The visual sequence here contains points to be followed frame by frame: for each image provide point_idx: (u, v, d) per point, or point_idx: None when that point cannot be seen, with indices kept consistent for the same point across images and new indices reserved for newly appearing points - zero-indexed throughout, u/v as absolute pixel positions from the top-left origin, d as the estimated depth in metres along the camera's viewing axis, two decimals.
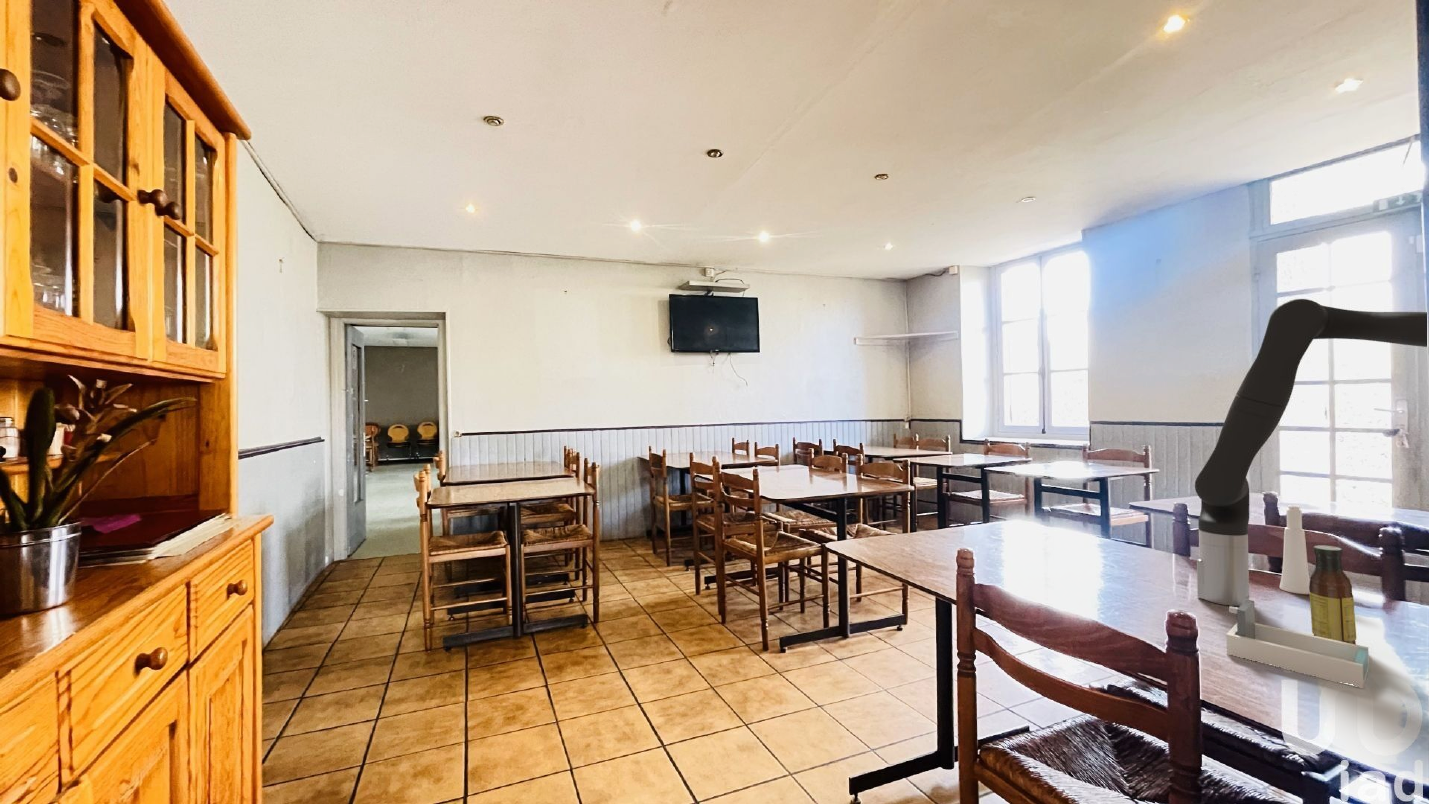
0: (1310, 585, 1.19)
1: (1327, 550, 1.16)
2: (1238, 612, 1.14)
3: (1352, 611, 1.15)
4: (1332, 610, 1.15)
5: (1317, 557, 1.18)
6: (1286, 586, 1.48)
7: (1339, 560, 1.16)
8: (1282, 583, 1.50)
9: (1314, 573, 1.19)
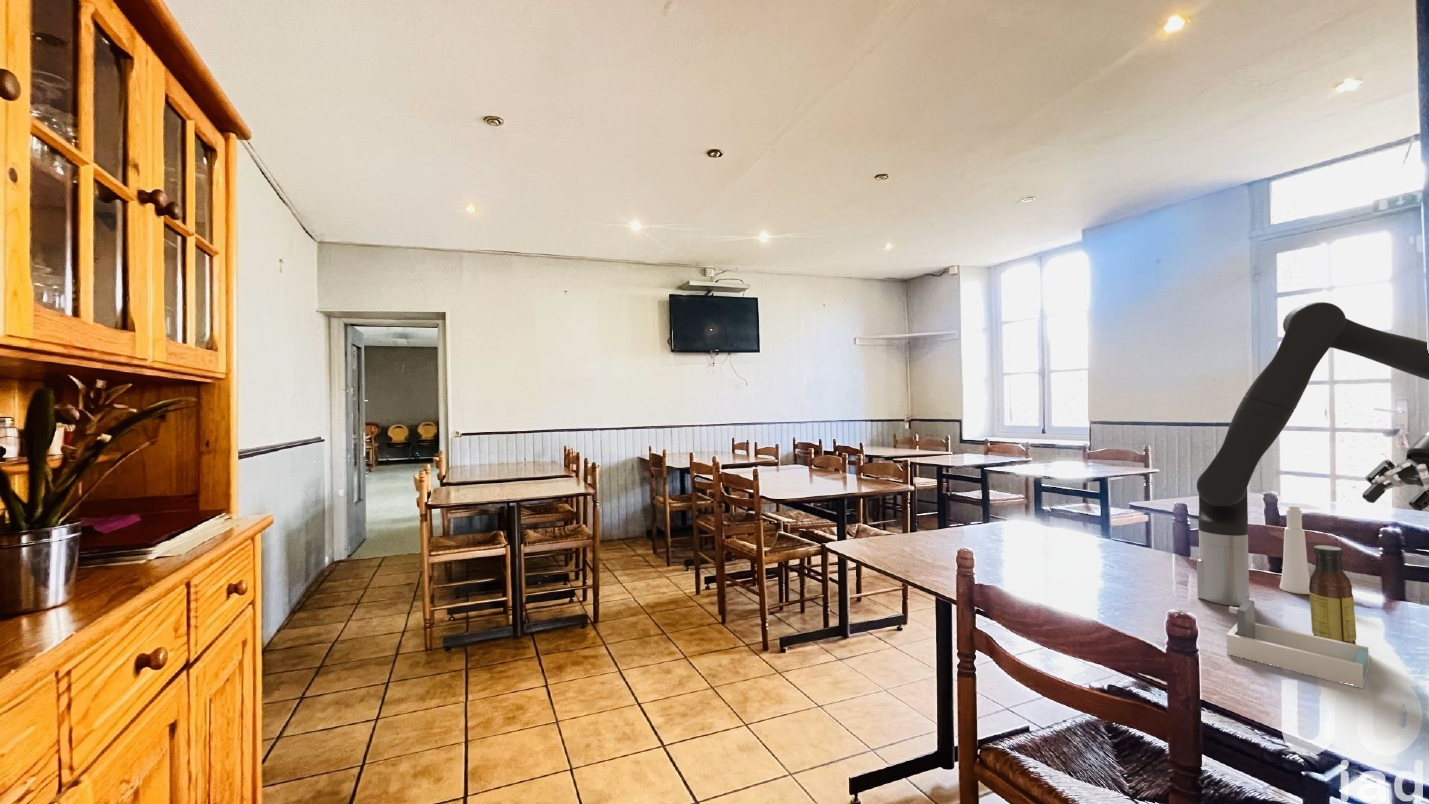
0: (1310, 585, 1.19)
1: (1327, 550, 1.16)
2: (1238, 612, 1.14)
3: (1352, 611, 1.15)
4: (1332, 610, 1.15)
5: (1317, 557, 1.18)
6: (1286, 586, 1.48)
7: (1339, 560, 1.16)
8: (1282, 583, 1.50)
9: (1314, 573, 1.19)
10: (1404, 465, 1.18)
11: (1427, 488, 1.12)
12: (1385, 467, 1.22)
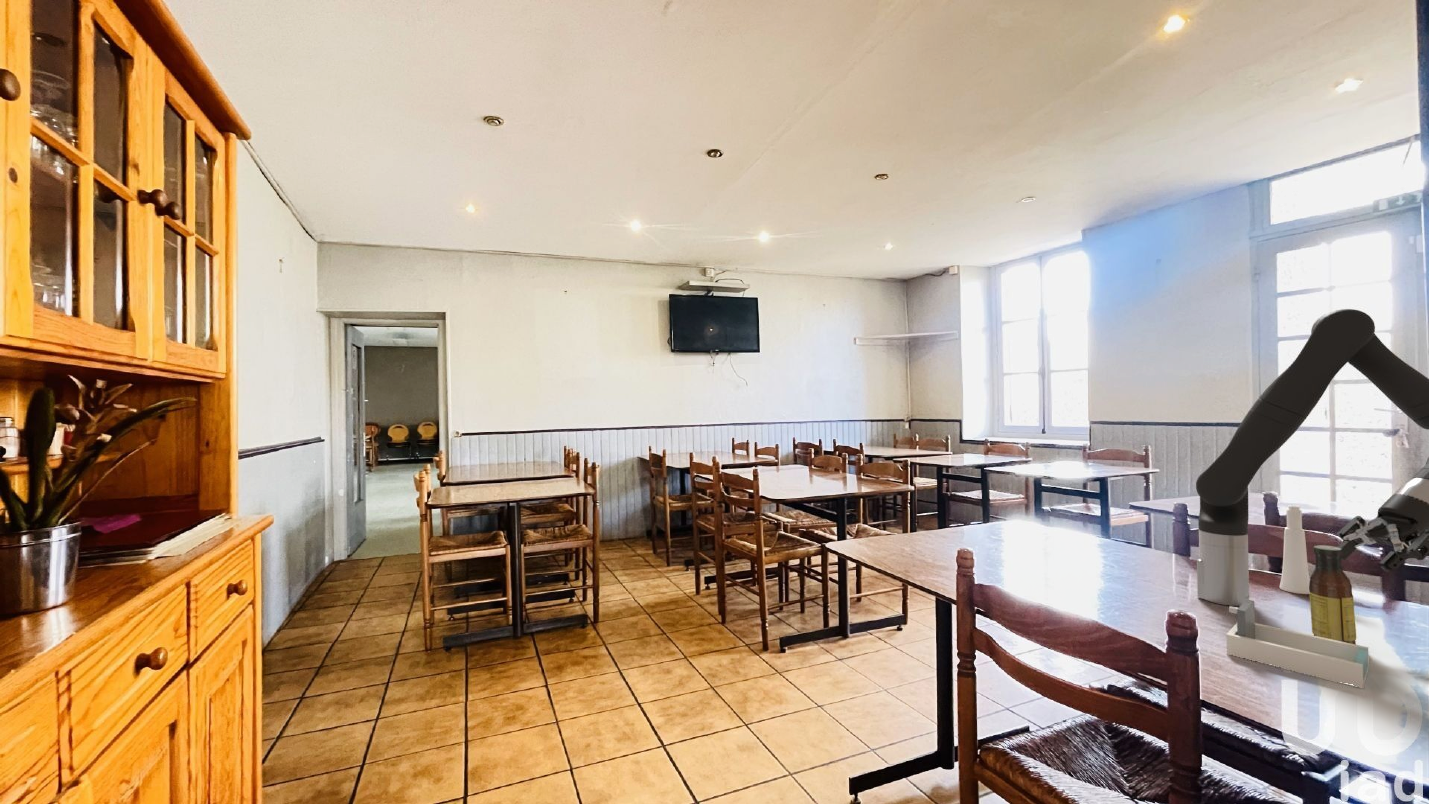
0: (1310, 585, 1.19)
1: (1327, 550, 1.16)
2: (1238, 612, 1.14)
3: (1352, 611, 1.15)
4: (1332, 610, 1.15)
5: (1317, 557, 1.18)
6: (1286, 586, 1.48)
7: (1339, 560, 1.16)
8: (1282, 583, 1.50)
9: (1314, 573, 1.19)
10: (1375, 524, 1.19)
11: (1397, 550, 1.13)
12: (1356, 524, 1.23)
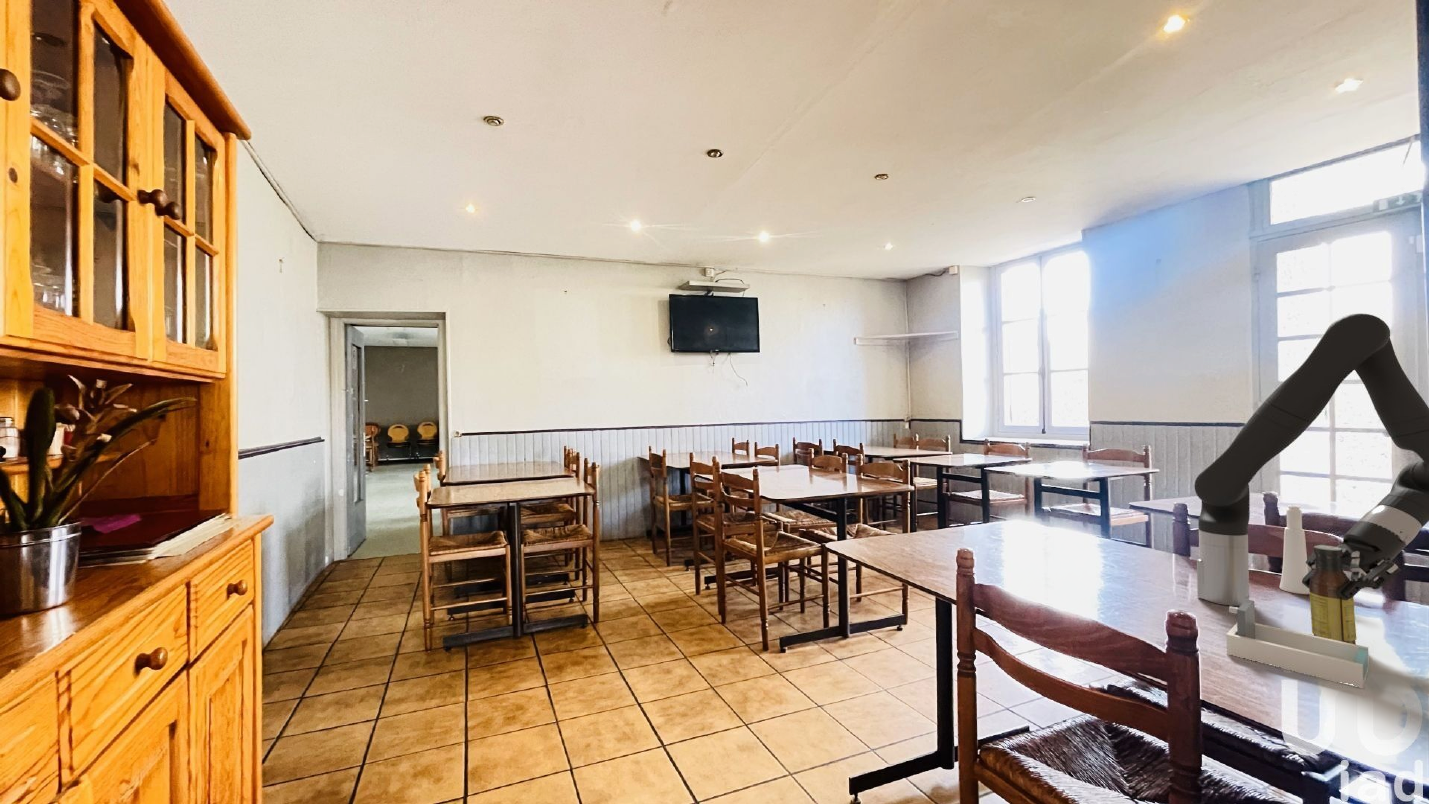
0: (1310, 585, 1.19)
1: (1327, 550, 1.16)
2: (1238, 612, 1.14)
3: (1352, 611, 1.15)
4: (1332, 610, 1.15)
5: (1317, 557, 1.18)
6: (1286, 586, 1.48)
7: (1339, 560, 1.16)
8: (1282, 583, 1.50)
9: (1314, 573, 1.19)
10: None
11: (1353, 578, 1.14)
12: None
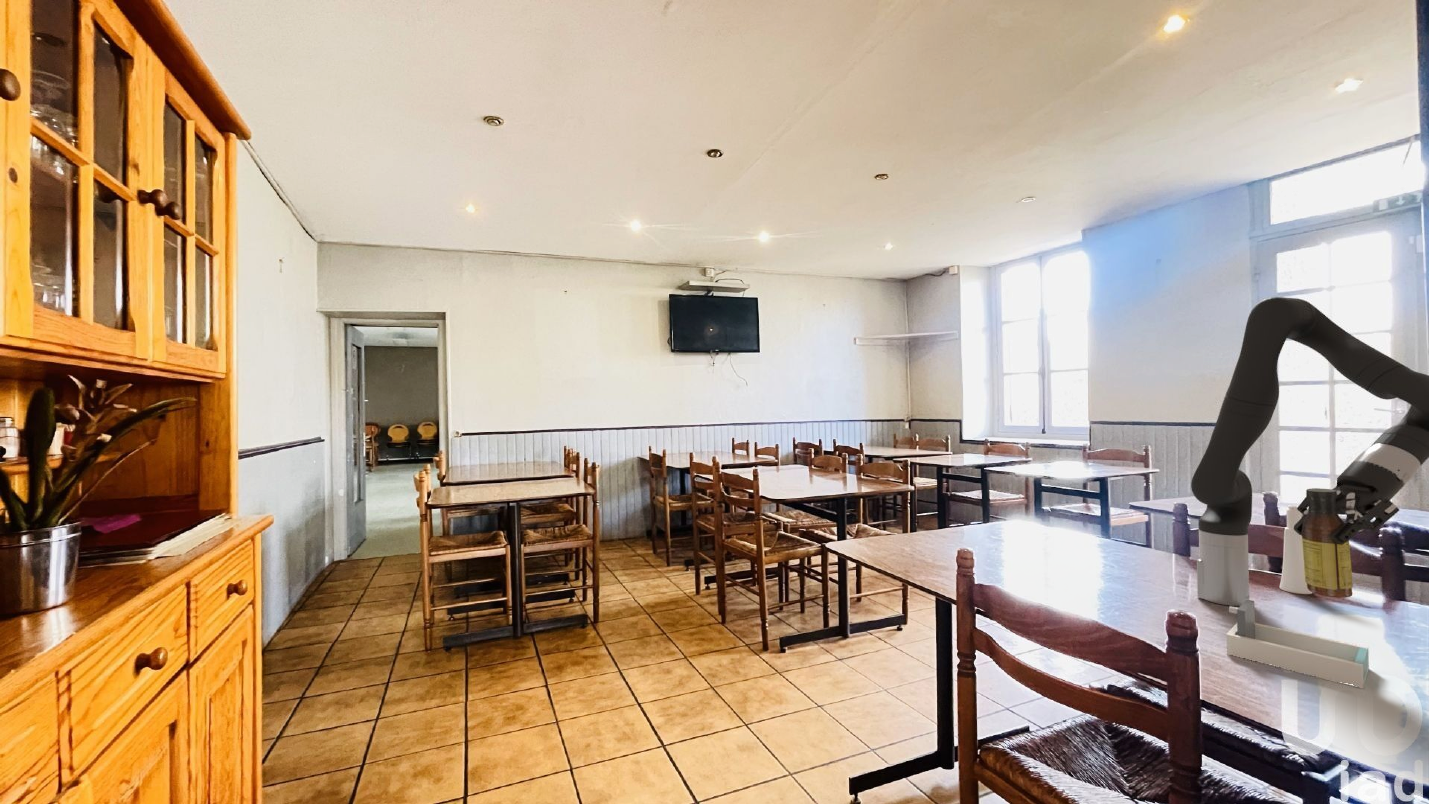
0: (1303, 531, 1.11)
1: (1321, 492, 1.08)
2: (1238, 612, 1.14)
3: (1348, 557, 1.06)
4: (1327, 556, 1.07)
5: (1310, 500, 1.10)
6: (1286, 586, 1.48)
7: (1333, 502, 1.08)
8: (1282, 583, 1.50)
9: (1307, 518, 1.10)
10: None
11: (1348, 521, 1.05)
12: None
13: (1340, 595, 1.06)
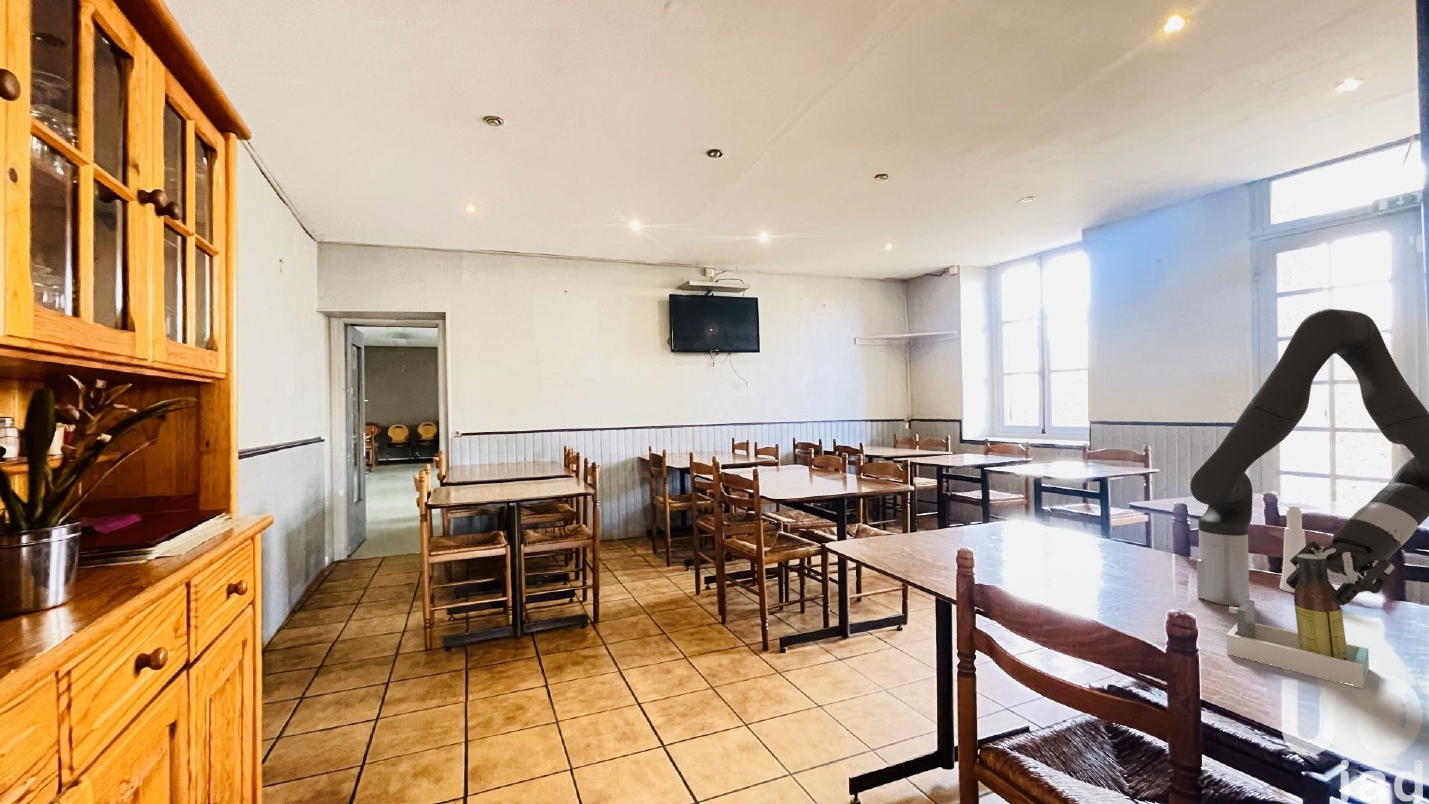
0: (1295, 598, 1.10)
1: (1311, 559, 1.07)
2: (1238, 612, 1.14)
3: (1341, 625, 1.05)
4: (1320, 624, 1.06)
5: (1301, 567, 1.09)
6: (1286, 586, 1.48)
7: (1324, 570, 1.07)
8: (1282, 583, 1.50)
9: (1298, 584, 1.09)
10: (1329, 551, 1.09)
11: (1350, 581, 1.03)
12: (1311, 550, 1.13)
13: None
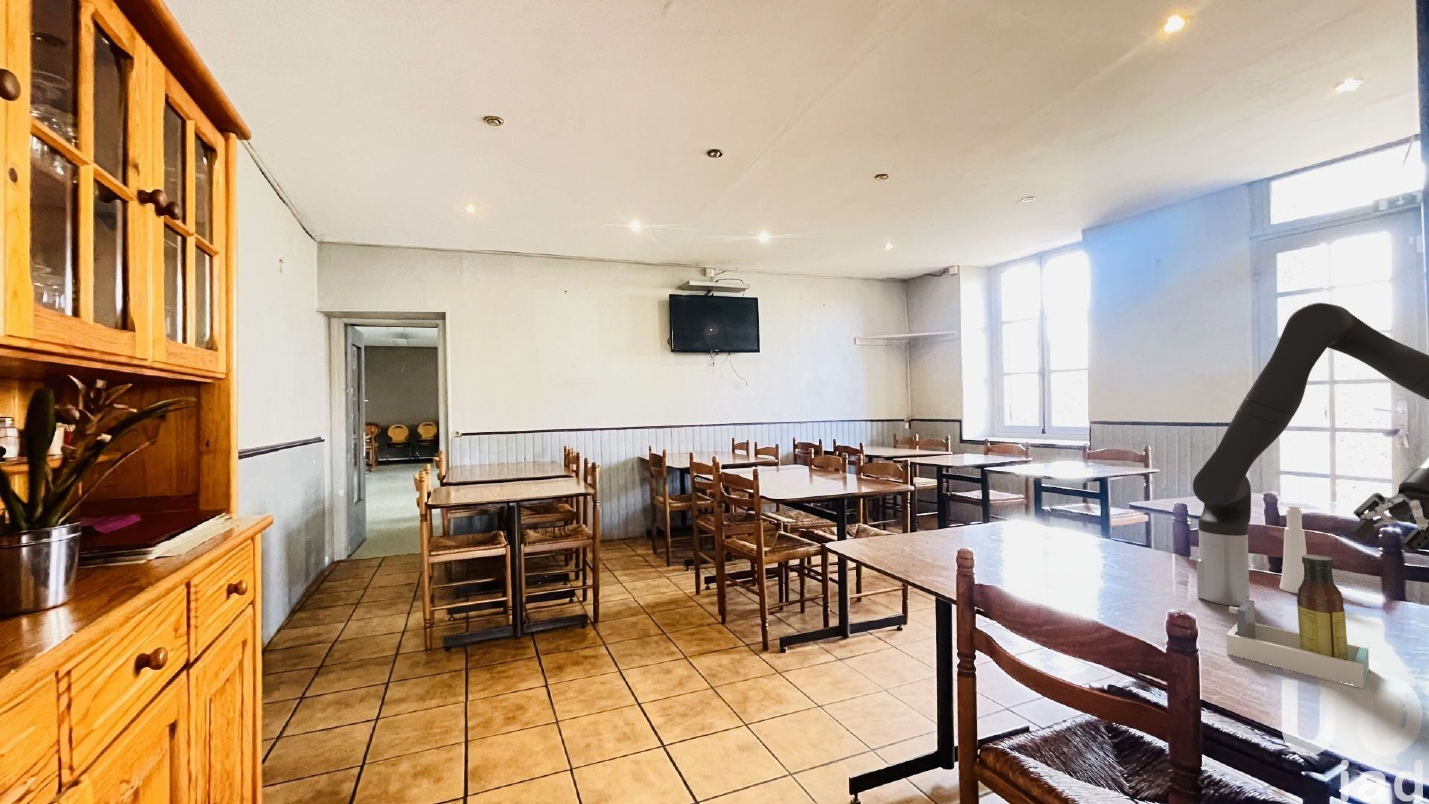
0: (1298, 598, 1.09)
1: (1316, 560, 1.07)
2: (1238, 612, 1.14)
3: (1343, 627, 1.05)
4: (1322, 625, 1.06)
5: (1305, 567, 1.08)
6: (1286, 586, 1.48)
7: (1329, 571, 1.06)
8: (1282, 583, 1.50)
9: (1302, 585, 1.09)
10: (1396, 500, 1.09)
11: (1421, 527, 1.02)
12: (1375, 501, 1.13)
13: None
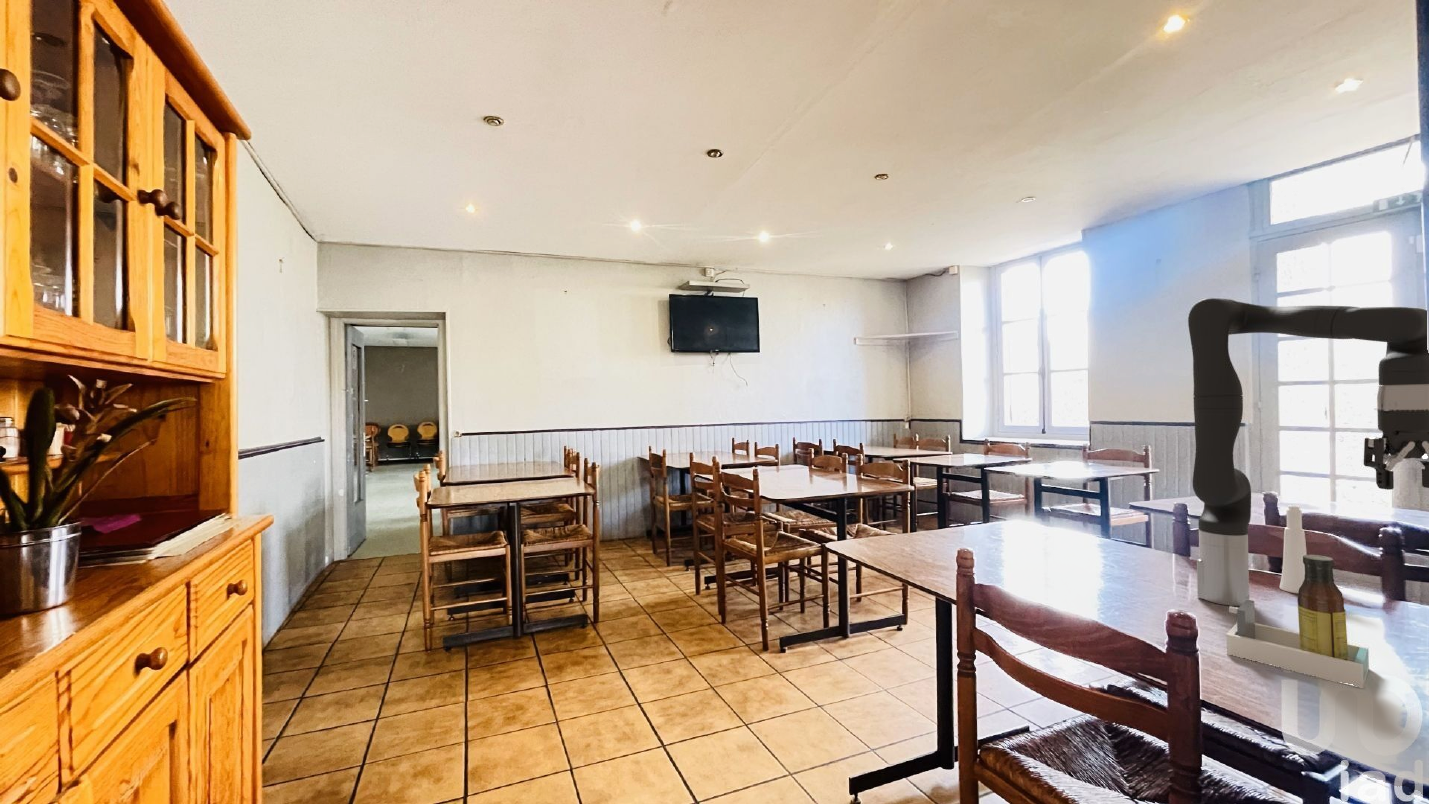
0: (1298, 598, 1.09)
1: (1317, 560, 1.07)
2: (1238, 612, 1.14)
3: (1344, 627, 1.05)
4: (1322, 625, 1.06)
5: (1306, 568, 1.08)
6: (1286, 586, 1.48)
7: (1330, 571, 1.06)
8: (1282, 583, 1.50)
9: (1303, 585, 1.09)
10: None
11: None
12: None
13: None
